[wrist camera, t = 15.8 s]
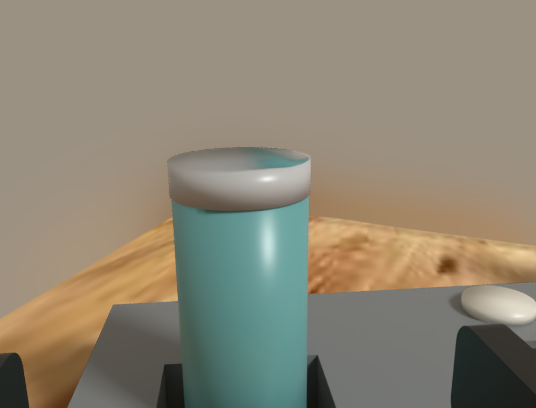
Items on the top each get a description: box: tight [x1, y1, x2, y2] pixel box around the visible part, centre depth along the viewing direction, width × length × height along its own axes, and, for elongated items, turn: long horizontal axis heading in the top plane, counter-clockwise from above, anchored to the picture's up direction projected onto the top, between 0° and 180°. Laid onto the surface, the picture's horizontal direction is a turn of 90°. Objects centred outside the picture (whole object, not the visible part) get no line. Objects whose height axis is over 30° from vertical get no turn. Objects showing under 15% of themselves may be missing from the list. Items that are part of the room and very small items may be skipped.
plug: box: [168, 147, 311, 408], centre depth 16 cm, size 4×4×12 cm
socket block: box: [67, 282, 536, 408], centre depth 19 cm, size 24×14×4 cm, turn 95°
